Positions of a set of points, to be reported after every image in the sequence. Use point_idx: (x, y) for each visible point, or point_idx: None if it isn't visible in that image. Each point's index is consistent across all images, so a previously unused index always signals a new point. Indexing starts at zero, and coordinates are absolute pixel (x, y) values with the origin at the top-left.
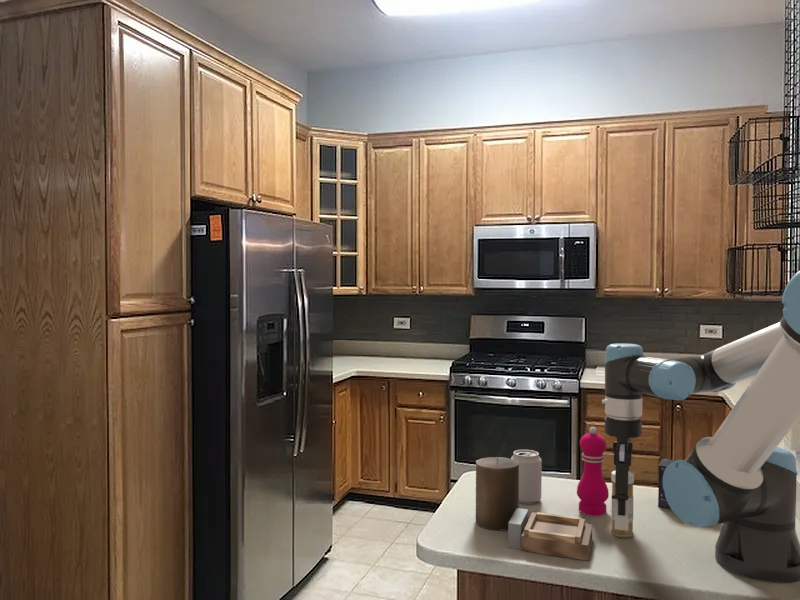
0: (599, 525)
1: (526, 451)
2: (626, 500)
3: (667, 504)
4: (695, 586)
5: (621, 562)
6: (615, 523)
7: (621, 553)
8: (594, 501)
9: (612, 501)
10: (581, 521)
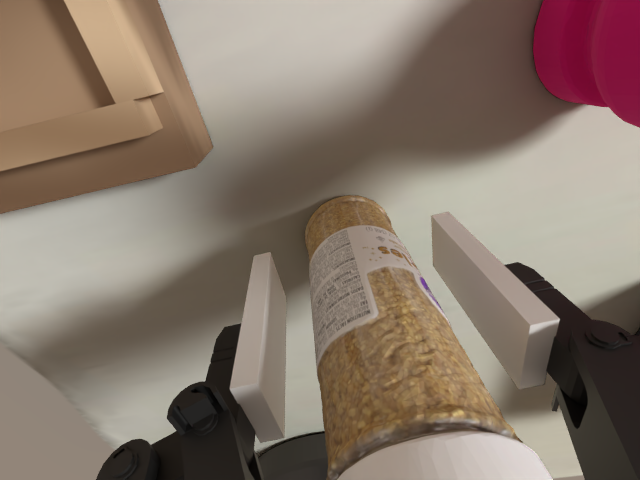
0: (405, 121)
1: None
2: (255, 430)
3: None
4: (119, 437)
5: (94, 294)
6: (252, 274)
7: (167, 276)
8: (593, 56)
9: (345, 295)
10: (90, 128)
